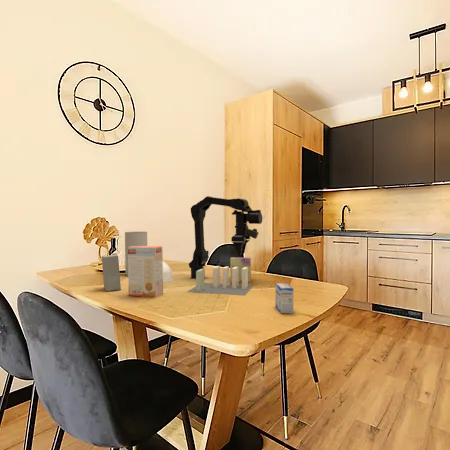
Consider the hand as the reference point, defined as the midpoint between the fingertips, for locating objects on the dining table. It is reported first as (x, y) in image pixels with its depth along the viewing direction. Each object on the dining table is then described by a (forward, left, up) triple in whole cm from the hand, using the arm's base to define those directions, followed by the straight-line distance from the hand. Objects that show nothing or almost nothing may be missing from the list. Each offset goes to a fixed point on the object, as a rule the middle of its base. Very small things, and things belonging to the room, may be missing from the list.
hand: (241, 254), depth 153 cm
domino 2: (-9, -13, -13) cm, 21 cm away
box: (-1, +5, -14) cm, 15 cm away
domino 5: (+5, -13, -13) cm, 20 cm away
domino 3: (-4, -13, -13) cm, 20 cm away
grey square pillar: (-64, +8, -14) cm, 66 cm away
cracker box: (-33, -35, -14) cm, 51 cm away
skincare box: (-55, -28, -14) cm, 64 cm away
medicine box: (+25, -42, -14) cm, 51 cm away
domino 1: (-13, -23, -13) cm, 30 cm away
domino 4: (0, -13, -13) cm, 19 cm away
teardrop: (-41, -5, -14) cm, 44 cm away
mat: (-5, -17, -14) cm, 23 cm away
